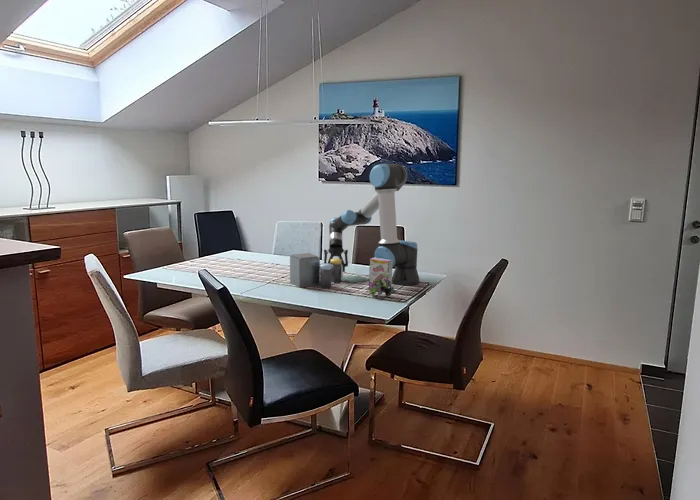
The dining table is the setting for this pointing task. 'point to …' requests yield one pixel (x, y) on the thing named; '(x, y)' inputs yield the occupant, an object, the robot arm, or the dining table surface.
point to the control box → (304, 270)
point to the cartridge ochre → (336, 270)
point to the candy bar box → (380, 271)
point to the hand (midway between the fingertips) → (335, 276)
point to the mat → (355, 279)
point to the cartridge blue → (325, 275)
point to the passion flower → (382, 287)
